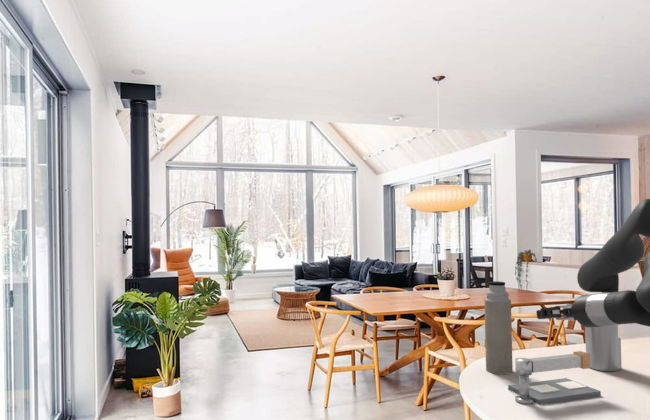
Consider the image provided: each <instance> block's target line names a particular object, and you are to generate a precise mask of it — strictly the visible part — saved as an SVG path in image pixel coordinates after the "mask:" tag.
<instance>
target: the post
mask: <svg viewBox="0 0 650 420" xmlns="http://www.w3.org/2000/svg"><path fill="white" fill-rule="evenodd" d="M529 383H530V375H519V374H518V384H519V395H516V396H515V399H514V400H515V402H516V403H518V404H521V405H534V403H535V402H534V399H533V398H531V397H529Z"/></svg>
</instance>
